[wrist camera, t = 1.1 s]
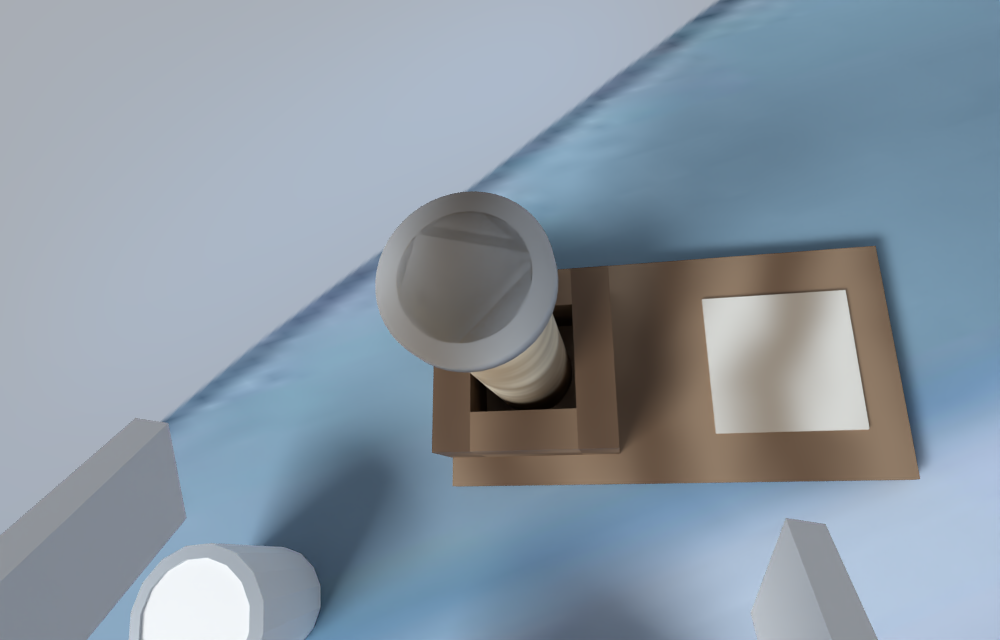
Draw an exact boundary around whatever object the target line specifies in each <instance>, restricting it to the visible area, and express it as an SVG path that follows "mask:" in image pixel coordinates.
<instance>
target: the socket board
mask: <svg viewBox="0 0 1000 640" xmlns="http://www.w3.org/2000/svg"><path fill="white" fill-rule="evenodd" d="M557 271H558V294H557V300H556V304H555V307H554V310H553V313H552V314H553V316H554V319H555V322H556V324H557V327H558V330H559V332H560V335H561V338H562V340H563V343H564V346H565V348H566V351H567V354H568V356H569V359H570V362H571V366H572V380H571V384H570V387H569V389H568V392H567V393H566V395H565V396H564V398H563V399H562V400H561V401H560V402H559V403H558V404H556V405H555V406H554V407H552V408H550V409H544V410H516V409H514V408H512V407H511V406H509V405H508V404H507V403H506V402H504V401H503V400H502V399H501V398H500V397H498V396H497V395H496V394H495V393H494V392H492V391H491V390H490V389H489V388H488V387H486V386H485V385H484V384H483V383H482V382H480V381H479V380H478V379H477V378H476V377H474V376H473V375H472V374H471V373H470V372H454V371H447V370H444V369H440V368H437V367H435V366H434V379H433V429H432V453H436V454H440V455H444V456H448V457H452V458H453V486H520V485H589V484H657V483H725V482H793V481H861V480H915V479H920V476H919V471H918V466H917V461H916V455H915V450H914V445H913V440H912V434H911V429H910V424H909V419H908V413H907V408H906V403H905V398H904V393H903V387H902V382H901V377H900V372H899V366H898V361H897V356H896V351H895V345H894V340H893V335H892V330H891V325H890V319H889V314H888V309H887V304H886V298H885V293H884V288H883V283H882V277H881V272H880V267H879V262H878V257H877V251H876V246H867V247H854V248H841V249H827V250H814V251H801V252H788V253H774V254H761V255H748V256H734V257H721V258H708V259H694V260H681V261H668V262H654V263H641V264H628V265H614V266H598V267H585V268H572V269H558V270H557Z"/></svg>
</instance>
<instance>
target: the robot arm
mask: <svg viewBox="0 0 1000 640" xmlns="http://www.w3.org/2000/svg"><path fill="white" fill-rule="evenodd" d="M185 519H186V513H185V508H184V503H183V498H182V493H181V487H180V482H179V477H178V472H177V467H176V461H175V456H174V451H173V446H172V440H171V435H170V430H169V425H168V423H164V422H157V421H150V420H144V419H138V418H135V419H134V420H133V421H132V422H130V423H129V424H128V425H127V426H126V427H125V428H123V429H122V430H121V431H120V432H119V433H118V434H117V435H116V436H114V437H113V438H112V439H111V440H110V441H109V442H107V443H106V444H105V445H104V446H103V447H102V448H100V449H99V450H98V451H97V452H96V453H95V454H93V455H92V456H91V457H90V458H89V459H88V460H87V461H85V462H84V463H83V464H82V465H81V466H80V467H78V468H77V469H76V470H75V471H74V472H73V473H72V474H70V475H69V476H68V477H67V478H66V479H65V480H63V481H62V482H61V483H60V484H59V485H58V486H57V487H55V488H54V489H53V490H52V491H51V492H50V493H49V494H47V495H46V496H45V497H44V498H43V499H42V500H40V501H39V502H38V503H37V504H36V505H35V506H34V507H32V508H31V509H30V510H29V511H28V512H27V513H25V514H24V515H23V516H22V517H21V518H20V519H19V520H17V521H16V522H15V523H14V524H13V525H12V526H10V527H9V528H8V529H7V530H6V531H5V532H4V533H2V534H1V535H0V640H87V639H88V638H89V636H90V635H91V634H92V633H93V631H94V630H95V629H96V628H97V627H98V625H99V624H100V623H101V622H102V621H103V619H104V618H105V617H106V616H107V614H108V613H109V612H110V611H111V610H112V608H113V607H114V606H115V605H116V603H117V602H118V601H119V600H120V599H121V597H122V596H123V595H124V594H125V592H126V591H127V590H128V589H129V588H130V586H131V585H132V584H133V583H134V582H135V580H136V579H137V578H138V577H139V575H140V574H141V573H142V572H143V571H144V569H145V568H146V567H147V566H148V564H149V563H150V562H151V561H152V560H153V558H154V557H155V556H156V555H157V553H158V552H159V551H160V550H161V549H162V547H163V546H164V545H165V544H166V542H167V541H168V540H169V539H170V538H171V536H172V535H173V534H174V533H175V532H176V530H177V529H178V528H179V527H180V525H181V524H182V523H183V522H184V521H185ZM751 616H752V620H753V624H754V628H755V632H756V636H757V639H758V640H878V639H877V637H876V635H875V632H874V630H873V628H872V626H871V624H870V621H869V619H868V617H867V615H866V613H865V610H864V608H863V606H862V604H861V602H860V599H859V597H858V595H857V593H856V591H855V588H854V586H853V584H852V582H851V580H850V577H849V575H848V573H847V571H846V569H845V566H844V564H843V562H842V560H841V558H840V555H839V553H838V551H837V549H836V547H835V544H834V542H833V540H832V538H831V536H830V533H829V531H828V529H827V527H826V525H825V524H821V523H814V522H808V521H801V520H795V519H788V518H786V519H785V521H784V524H783V527H782V530H781V532H780V535H779V538H778V540H777V543H776V546H775V548H774V551H773V554H772V556H771V559H770V562H769V564H768V567H767V570H766V573H765V575H764V578H763V581H762V583H761V586H760V589H759V591H758V594H757V597H756V599H755V602H754V605H753V608H752V610H751Z"/></svg>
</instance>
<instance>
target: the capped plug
mask: <svg viewBox="0 0 1000 640" xmlns="http://www.w3.org/2000/svg"><path fill="white" fill-rule="evenodd" d="M375 283H376V299H377V305H378V308H379V311H380V315H381V317H382V319H383V321H384V323H385V325H386V327H387V328H388V330H389V332H390V333H391V334H392V336H393V337H394V338H395V339H396V340H397V341H398V342H399V343H400V344H401V345H402V346H403V347H404V348H405V349H407V350H408V351H409V352H411V353H412V354H414V355H415V356H417V357H418V358H420V359H421V360H423V361H424V362H426V363H428V364H430V365H432V366H435V367H437V368H440V369H444V370H447V371H454V372H470V373H471V374H472V375H473V376H474V377H476V378H477V379H478V380H479V381H480V382H482V383H483V384H484V385H485V386H486V387H488V388H489V389H490V390H491V391H492V392H494V393H495V394H496V395H497V396H498V397H500V398H501V399H502V400H503V401H504V402H506V403H507V404H508V405H509V406H511V407H512V408H514V409H516V410H544V409H550V408H552V407H554V406H555V405H556V404H558V403H559V402H560V401H561V400H562V399H563V398H564V396H565V395H566V393H567V392H568V389H569V387H570V384H571V380H572V366H571V362H570V359H569V356H568V354H567V351H566V348H565V346H564V343H563V340H562V338H561V335H560V332H559V330H558V327H557V324H556V322H555V319H554V316H553V314H552V313H553V310H554V307H555V304H556V300H557V294H558V271H557V265H556V261H555V258H554V254H553V250H552V247H551V244H550V242H549V239H548V237H547V235H546V233H545V231H544V230H543V228H542V226H541V225H540V224H539V223H538V221H537V220H536V219H535V218H534V217H533V216H532V215H531V214H530V213H529V212H528V211H527V210H526V209H524V208H523V207H521V206H520V205H519V204H517V203H515V202H513V201H511V200H509V199H507V198H505V197H502V196H499V195H496V194H491V193H486V192H460V193H454V194H450V195H447V196H443V197H440V198H438V199H435V200H433V201H430V202H429V203H427V204H425V205H423V206H421V207H420V208H419V209H417V210H416V211H414V212H413V213H412V214H410V215H409V216H408V217H407V218H406V219H405V220H404V221H403V222H402V223H401V224H400V225H399V226H398V227H397V229H396V230H395V231H394V233H393V234H392V236H391V237H390V238H389V240H388V242H387V244H386V246H385V247H384V249H383V252H382V255H381V257H380V260H379V264H378V268H377V273H376V282H375Z"/></svg>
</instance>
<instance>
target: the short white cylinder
mask: <svg viewBox="0 0 1000 640" xmlns="http://www.w3.org/2000/svg"><path fill="white" fill-rule="evenodd" d="M320 608H321V585H320V583H319V580H318V577H317V575H316V572H315V570H314V567H313V566H312V565H311V564H310V563H309V562H308V561H307V559H306V558H305V557H304V556H303V555H302V554H301V553H299V552H296V551H293V550H291V549H288V548H285V547H275V546H255V545H235V544H214V543H211V544H201V545H191V546H185V547H183V548H182V549H180V550H178V551H176V552H175V553H173V554H171V555H169V556H168V557H166V558H164V559H162V560H161V561H160V563H159V564H158V565H157V566H156V567H155V569H154V570H153V571H152V572H151V573H150V575H149V576H148V577H147V578H146V579H145V581H144V582H143V583H142V586H141V588H140V591H139V593H138V596H137V598H136V601H135V603H134V606H133V608H132V611H131V617H130V631H129V640H304V639H305V638H306V637H307V636H308V634H309V633H310V632H311V630H312V629H313V628H314V625H315V623H316V620H317V617H318V614H319V611H320Z"/></svg>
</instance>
